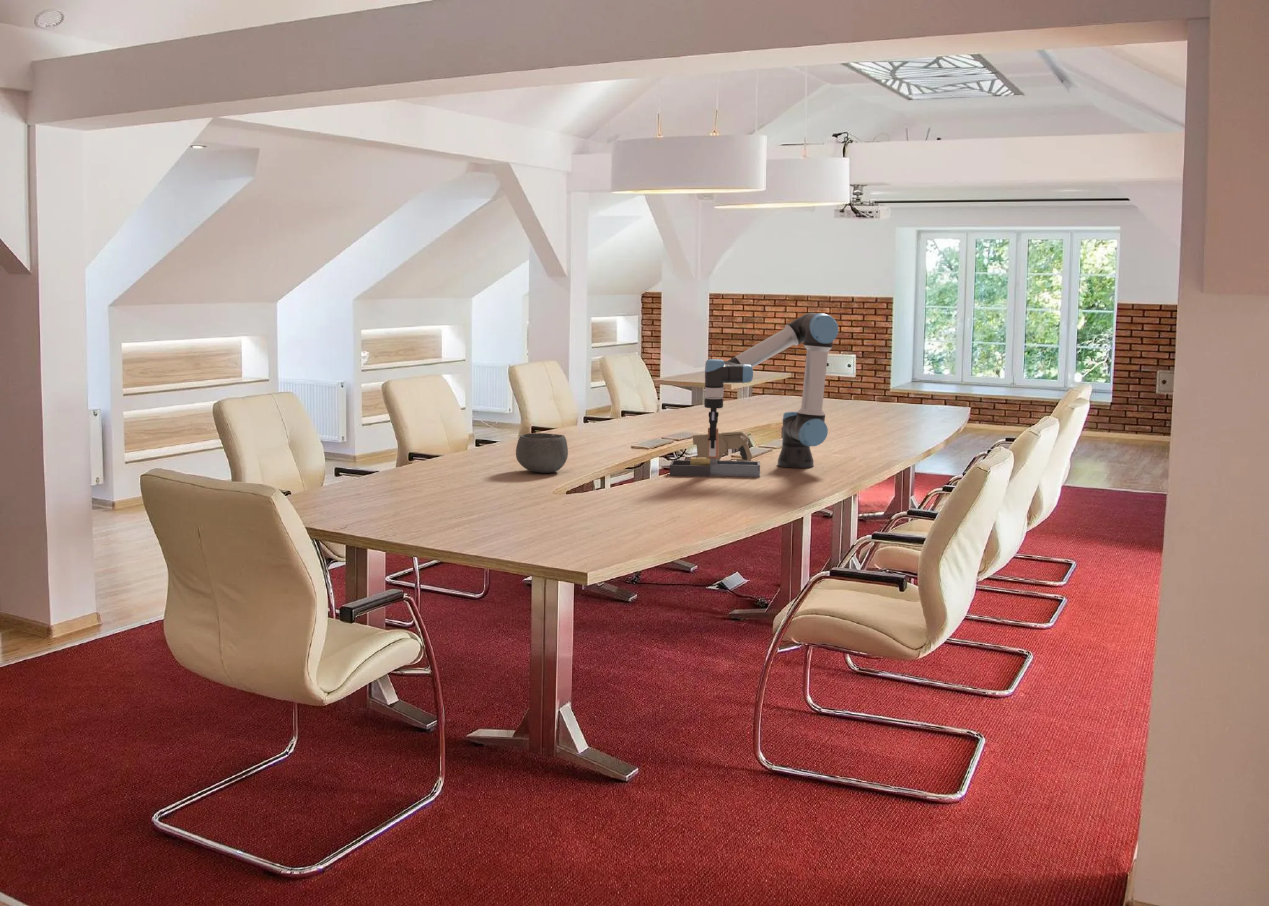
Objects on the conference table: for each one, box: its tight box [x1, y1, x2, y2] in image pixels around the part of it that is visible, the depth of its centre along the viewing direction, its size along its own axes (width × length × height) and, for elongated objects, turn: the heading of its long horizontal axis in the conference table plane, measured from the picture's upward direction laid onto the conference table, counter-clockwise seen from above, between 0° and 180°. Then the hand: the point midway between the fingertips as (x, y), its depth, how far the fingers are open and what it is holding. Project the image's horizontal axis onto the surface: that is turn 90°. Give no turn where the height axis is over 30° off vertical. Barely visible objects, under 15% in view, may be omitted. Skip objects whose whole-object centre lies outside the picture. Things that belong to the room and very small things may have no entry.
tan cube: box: [700, 457, 710, 466], centre depth 493 cm, size 4×4×4 cm
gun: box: [692, 430, 753, 461], centre depth 515 cm, size 24×3×15 cm, turn 84°
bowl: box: [515, 432, 569, 474], centre depth 494 cm, size 21×21×15 cm
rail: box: [710, 460, 761, 478], centre depth 492 cm, size 20×10×5 cm, turn 84°
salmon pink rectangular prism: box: [707, 427, 719, 464], centre depth 492 cm, size 4×7×16 cm, turn 174°
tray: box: [669, 459, 711, 478], centre depth 494 cm, size 16×14×4 cm
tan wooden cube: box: [690, 456, 701, 466], centre depth 494 cm, size 4×4×4 cm
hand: (712, 455), depth 492 cm, fingers closed on salmon pink rectangular prism, 4 cm apart
